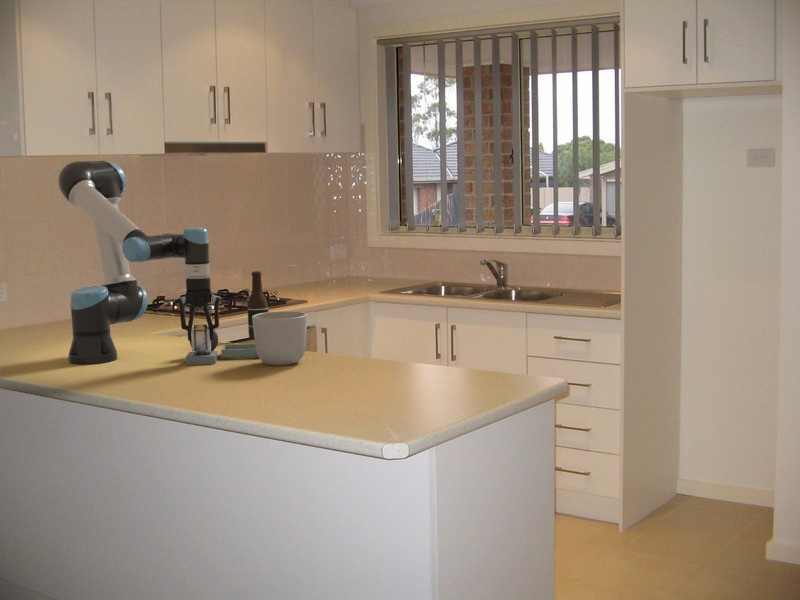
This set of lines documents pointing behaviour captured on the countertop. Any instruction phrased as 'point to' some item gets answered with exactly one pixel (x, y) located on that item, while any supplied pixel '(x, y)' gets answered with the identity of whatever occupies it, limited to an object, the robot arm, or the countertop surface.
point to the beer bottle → (256, 301)
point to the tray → (239, 351)
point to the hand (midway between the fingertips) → (201, 350)
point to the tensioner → (205, 359)
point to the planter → (280, 336)
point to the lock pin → (200, 339)
